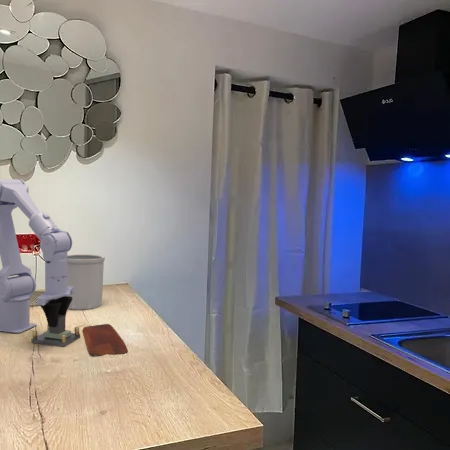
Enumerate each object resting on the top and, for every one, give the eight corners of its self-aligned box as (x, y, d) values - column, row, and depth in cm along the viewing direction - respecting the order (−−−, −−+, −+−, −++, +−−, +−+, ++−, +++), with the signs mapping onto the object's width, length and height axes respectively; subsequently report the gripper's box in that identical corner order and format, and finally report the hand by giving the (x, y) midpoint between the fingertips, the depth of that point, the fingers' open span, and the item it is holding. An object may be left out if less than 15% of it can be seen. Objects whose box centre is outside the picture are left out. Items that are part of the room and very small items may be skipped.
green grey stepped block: (43, 336, 129) (43, 316, 129) (52, 332, 133) (52, 313, 132) (62, 339, 128) (63, 319, 127) (71, 335, 132) (71, 315, 131)
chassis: (31, 342, 128) (31, 331, 128) (48, 333, 136) (48, 323, 135) (64, 346, 125) (64, 335, 125) (80, 337, 133) (80, 327, 133)
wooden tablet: (129, 355, 123) (130, 349, 123) (90, 359, 119) (90, 353, 119) (113, 325, 147) (113, 320, 147) (80, 328, 143) (80, 322, 143)
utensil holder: (86, 297, 178) (86, 251, 176) (112, 304, 169) (113, 256, 167) (51, 305, 166) (51, 255, 164) (78, 313, 157) (78, 261, 155)
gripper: (53, 282, 121) (53, 334, 122) (83, 272, 135) (83, 318, 136) (29, 280, 123) (29, 331, 124) (61, 270, 137) (61, 316, 138)
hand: (56, 324), depth 130 cm, fingers closed on green grey stepped block, 3 cm apart
